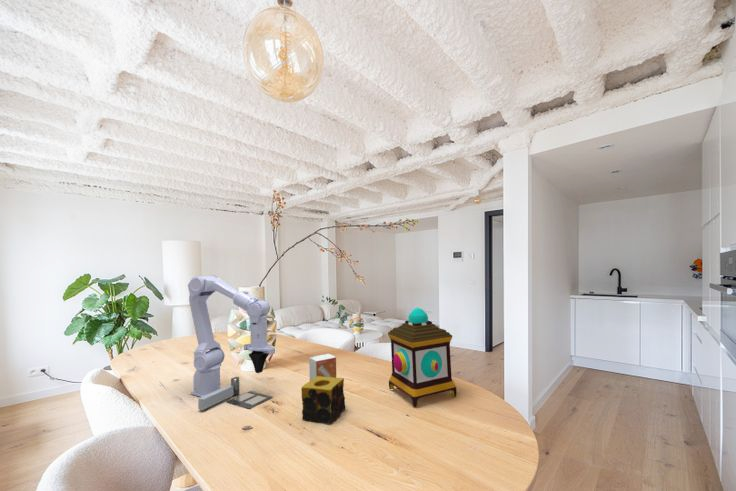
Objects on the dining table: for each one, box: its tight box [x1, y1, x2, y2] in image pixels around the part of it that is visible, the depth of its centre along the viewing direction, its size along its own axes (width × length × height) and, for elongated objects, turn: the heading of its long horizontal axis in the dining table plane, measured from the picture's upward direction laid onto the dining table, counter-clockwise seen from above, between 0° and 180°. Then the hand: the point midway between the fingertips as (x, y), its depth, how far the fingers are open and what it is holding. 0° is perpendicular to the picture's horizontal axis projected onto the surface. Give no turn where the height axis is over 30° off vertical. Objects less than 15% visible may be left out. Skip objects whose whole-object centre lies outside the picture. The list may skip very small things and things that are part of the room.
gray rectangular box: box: [197, 384, 234, 411], centre depth 105 cm, size 12×2×3 cm, turn 155°
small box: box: [308, 353, 337, 381], centre depth 111 cm, size 8×6×13 cm
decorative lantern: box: [387, 307, 458, 408], centre depth 109 cm, size 20×20×30 cm
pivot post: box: [230, 376, 241, 398], centre depth 113 cm, size 3×3×6 cm
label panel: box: [225, 390, 274, 410], centre depth 108 cm, size 12×10×1 cm
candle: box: [301, 376, 346, 425], centre depth 95 cm, size 10×10×10 cm
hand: (259, 372), depth 111 cm, fingers closed
